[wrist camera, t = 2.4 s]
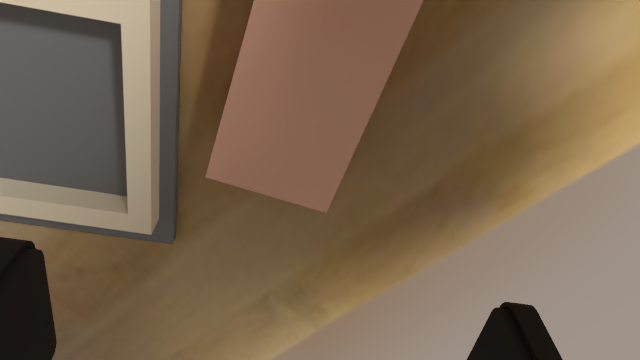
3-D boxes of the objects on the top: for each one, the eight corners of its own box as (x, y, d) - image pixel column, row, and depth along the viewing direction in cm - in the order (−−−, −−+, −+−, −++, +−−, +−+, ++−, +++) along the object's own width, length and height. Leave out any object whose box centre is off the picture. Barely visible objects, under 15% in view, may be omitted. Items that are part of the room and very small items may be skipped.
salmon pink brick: (412, -31, 21) (429, -13, 18) (326, 170, 27) (326, 213, 23) (282, -83, 20) (274, -75, 17) (220, 137, 26) (205, 177, 22)
